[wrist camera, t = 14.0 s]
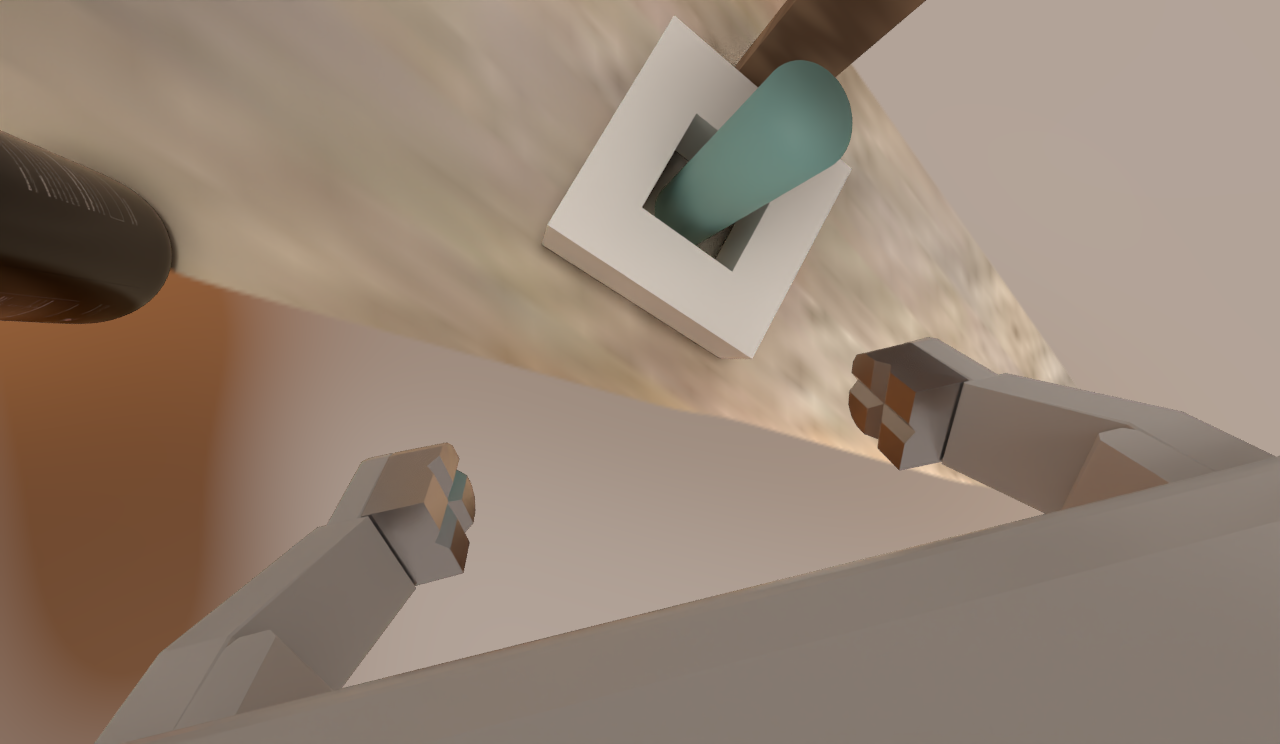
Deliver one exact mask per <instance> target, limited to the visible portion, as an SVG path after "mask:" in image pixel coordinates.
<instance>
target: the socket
mask: <svg viewBox="0 0 1280 744" xmlns="http://www.w3.org/2000/svg"><path fill="white" fill-rule="evenodd" d="M757 88H758V87H757V86H756V85H755V84H753V83H752V82H751V81H750V80H749V79H748V78H746V77H745V76H744V75H743V74H742V73H741V72H739V71H738V70H737V69H736V68H735V67H734V66H733V65H731V64H730V63H729V62H728V61H727V60H726V59H724V58H723V57H722V56H721V55H720V54H719V53H717V52H716V51H715V50H714V49H713V48H712V47H711V46H709V45H708V44H707V43H706V42H705V41H704V40H702V39H701V38H700V37H699V36H698V35H697V34H695V33H694V32H693V31H692V30H691V29H690V28H688V27H687V26H686V25H685V24H684V23H683V22H682V21H680V20H679V19H678V18H677V17H676V16H675V15H674V16H673V18H672V20H671V21H670V23H669V25H668V26H667V28H666V30H665V31H664V33H663V35H662V36H661V38H660V39H659V41H658V43H657V44H656V46H655V48H654V49H653V51H652V53H651V54H650V56H649V58H648V59H647V61H646V63H645V64H644V66H643V68H642V69H641V71H640V73H639V74H638V76H637V77H636V79H635V81H634V82H633V84H632V86H631V87H630V89H629V91H628V92H627V94H626V96H625V97H624V99H623V101H622V102H621V104H620V106H619V107H618V109H617V111H616V112H615V114H614V115H613V117H612V119H611V120H610V122H609V124H608V125H607V127H606V129H605V130H604V132H603V134H602V135H601V137H600V139H599V140H598V142H597V144H596V145H595V147H594V149H593V150H592V152H591V153H590V155H589V157H588V158H587V160H586V162H585V163H584V165H583V167H582V168H581V170H580V172H579V173H578V175H577V177H576V178H575V180H574V182H573V183H572V185H571V187H570V188H569V190H568V191H567V193H566V195H565V196H564V198H563V200H562V201H561V203H560V205H559V206H558V208H557V210H556V211H555V213H554V215H553V216H552V218H551V220H550V221H549V223H548V225H547V228H546V231H545V234H544V237H543V241H542V245H543V246H545V247H547V248H548V249H550V250H551V251H553V252H554V253H556V254H558V255H559V256H561V257H562V258H564V259H565V260H567V261H568V262H570V263H572V264H573V265H575V266H576V267H578V268H579V269H581V270H583V271H584V272H586V273H587V274H589V275H590V276H592V277H594V278H595V279H597V280H598V281H600V282H601V283H603V284H604V285H606V286H608V287H609V288H611V289H612V290H614V291H615V292H617V293H619V294H620V295H622V296H623V297H625V298H626V299H628V300H629V301H631V302H633V303H634V304H636V305H637V306H639V307H640V308H642V309H644V310H645V311H647V312H648V313H650V314H651V315H653V316H654V317H656V318H658V319H659V320H661V321H662V322H664V323H665V324H667V325H669V326H670V327H672V328H673V329H675V330H676V331H678V332H680V333H681V334H683V335H684V336H686V337H687V338H689V339H690V340H692V341H694V342H695V343H697V344H698V345H700V346H701V347H703V348H705V349H706V350H708V351H709V352H711V353H712V354H714V355H715V356H717V357H719V358H728V359H752V358H753V356H754V354H755V352H756V351H757V349H758V347H759V345H760V343H761V341H762V339H763V337H764V335H765V333H766V332H767V330H768V328H769V326H770V324H771V322H772V320H773V318H774V316H775V314H776V312H777V311H778V309H779V307H780V305H781V303H782V301H783V299H784V297H785V295H786V293H787V292H788V290H789V288H790V286H791V284H792V282H793V280H794V278H795V276H796V274H797V273H798V271H799V269H800V267H801V265H802V263H803V261H804V259H805V257H806V255H807V254H808V252H809V250H810V248H811V246H812V244H813V242H814V240H815V238H816V236H817V234H818V233H819V231H820V229H821V227H822V225H823V223H824V221H825V219H826V217H827V215H828V214H829V212H830V210H831V208H832V206H833V204H834V202H835V200H836V198H837V196H838V195H839V193H840V191H841V189H842V187H843V185H844V183H845V181H846V179H847V177H848V176H849V174H850V172H851V170H852V168H851V167H850V166H848V165H847V164H846V163H845V162H844V161H843V160H841V159H839V160H838V161H837V162H836V163H835V164H834V165H832V166H831V167H829V168H828V169H826V170H824V171H822V172H821V173H819V174H817V175H816V176H814V177H812V178H810V179H809V180H807V181H805V182H804V183H802V184H800V185H798V186H797V187H795V188H793V189H792V190H790V191H788V192H786V193H785V194H783V195H781V196H780V197H778V198H776V199H774V200H773V201H771V202H769V203H767V204H766V205H764V206H762V207H761V208H759V209H757V210H755V211H754V212H752V213H750V214H749V215H747V216H745V217H743V218H742V219H740V220H738V221H737V222H736V223H735V224H734V226H733V228H732V230H731V232H730V234H729V235H728V237H727V239H726V241H725V243H724V244H723V246H722V248H721V250H720V252H719V253H718V255H717V257H716V259H714V258H712V257H711V256H710V255H708V254H707V253H705V252H704V251H703V250H701V249H700V248H698V247H697V246H695V245H694V244H693V243H691V242H690V241H688V240H687V239H686V238H684V237H683V236H681V235H680V234H679V233H677V232H676V231H674V230H673V229H672V228H670V227H669V226H667V225H666V224H664V223H663V222H662V221H660V220H659V219H657V218H656V217H655V216H653V215H652V214H650V213H649V212H648V211H646V210H645V209H643V208H642V206H643V204H644V203H645V201H646V199H647V198H648V196H649V194H650V192H651V191H652V189H653V187H654V186H655V184H656V182H657V180H658V179H659V177H660V175H661V173H662V172H663V170H664V168H665V167H666V165H667V163H668V161H669V160H670V158H671V156H672V155H673V153H674V151H677V152H678V153H679V154H680V155H682V156H683V157H684V158H686V159H687V160H688V161H690V160H691V159H692V158H693V157H694V156H695V155H696V153H697V152H698V151H699V150H700V149H701V148H702V147H703V146H704V145H705V144H706V143H707V142H708V141H709V140H710V139H711V137H712V136H713V135H714V134H715V133H716V132H717V131H718V130H719V129H720V128H721V127H722V126H723V125H724V124H725V123H726V121H727V120H728V119H729V118H730V117H731V116H732V115H733V114H734V113H735V112H736V111H737V110H738V109H739V108H740V107H741V105H742V104H743V103H744V102H745V101H746V100H747V99H748V98H749V97H750V96H751V95H752V94H753V93H754V92H755V91H756V89H757Z"/></svg>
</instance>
